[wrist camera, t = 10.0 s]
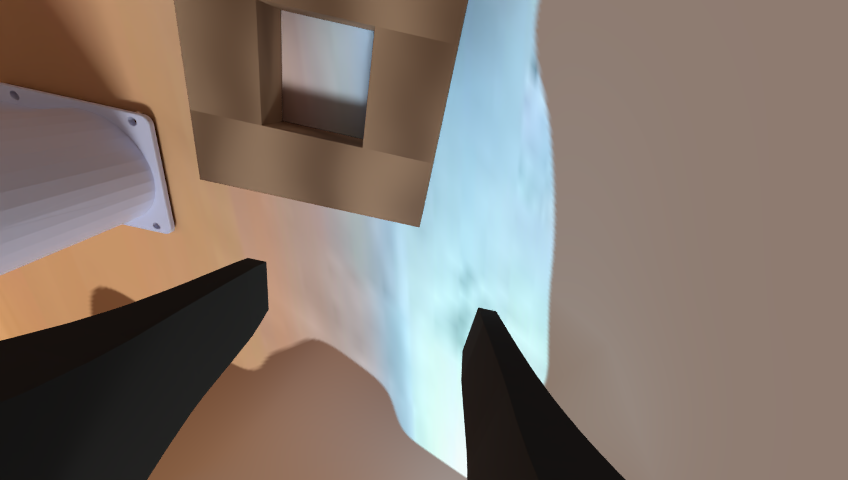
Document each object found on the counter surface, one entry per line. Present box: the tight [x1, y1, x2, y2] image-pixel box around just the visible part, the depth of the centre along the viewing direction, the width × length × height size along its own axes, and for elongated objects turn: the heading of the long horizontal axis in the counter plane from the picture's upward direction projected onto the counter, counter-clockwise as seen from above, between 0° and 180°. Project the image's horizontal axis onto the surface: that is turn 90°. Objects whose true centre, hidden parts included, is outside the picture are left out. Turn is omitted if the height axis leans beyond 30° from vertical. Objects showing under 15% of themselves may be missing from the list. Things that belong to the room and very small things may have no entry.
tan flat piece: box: [174, 0, 468, 227], centre depth 16 cm, size 13×13×2 cm
